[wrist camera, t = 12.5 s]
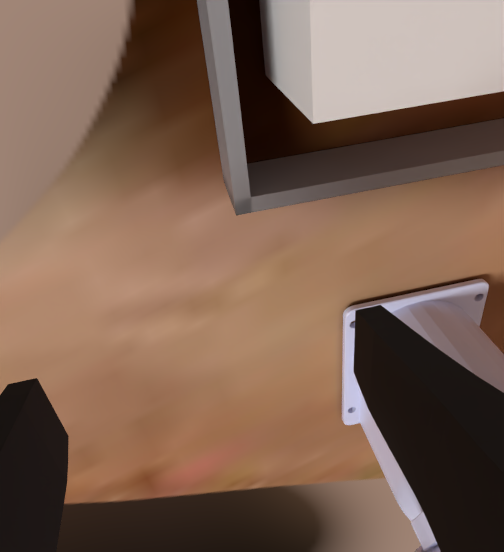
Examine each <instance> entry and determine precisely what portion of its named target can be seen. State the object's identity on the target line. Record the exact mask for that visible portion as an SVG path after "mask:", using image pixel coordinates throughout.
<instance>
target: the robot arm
mask: <svg viewBox="0 0 504 552" xmlns="http://www.w3.org/2000/svg"><path fill="white" fill-rule="evenodd" d="M488 289H489V284H488V283H487V282H486V281H485V280H484V279H476V280H471V281H466V282H462V283H457V284H452V285H447V286H443V287H438V288H433V289H429V290H424V291H419V292H414V293H410V294H405V295H400V296H396V297H391V298H386V299H381V300H377V301H372V302H367V303H363V304H358V305H353V306H350V307H348V308H347V309H346V310H345V311H344V313H343V367H342V420H343V422H344V424H346V425H353V424H358V423H361V426H362V428H363V430H364V432H365V434H366V436H367V438H368V441H369V443H370V445H371V447H372V449H373V451H374V453H375V456H376V458H377V460H378V462H379V464H380V466H381V468H382V471H383V473H384V475H385V477H386V479H387V481H388V483H389V485H390V488H391V490H392V492H393V494H394V496H395V498H396V501H397V502H398V504H399V506H400V508H401V509H402V511H403V512H404V514H405V515H406V516H407V517H408V518H409V519H410V520H411V524H412V527H413V529H414V531H415V533H416V535H417V537H418V539H419V541H420V544H421V546H420V547H419V548H417V549H416V551H415V552H504V354H503V353H502V352H501V351H500V350H499V348H498V347H497V346H496V345H495V344H494V343H493V342H492V341H491V339H490V338H489V337H488V336H487V335H486V334H485V333H484V332H483V331H482V329H481V328H480V323H481V319H482V314H483V310H484V306H485V302H486V298H487V293H488ZM476 295H477V296H476ZM352 321H355V322H354V323H351V322H352ZM67 472H68V435H67V433H66V431H65V429H64V427H63V425H62V423H61V422H60V420H59V418H58V416H57V414H56V412H55V411H54V409H53V407H52V405H51V403H50V401H49V400H48V398H47V396H46V394H45V392H44V390H43V388H42V387H41V385H40V383H39V381H38V379H37V378H36V379H31V380H26V381H22V382H17V383H12V384H8V385H7V387H6V388H5V389H4V391H3V392H2V394H1V395H0V552H56V549H57V543H58V537H59V530H60V525H61V518H62V512H63V505H64V499H65V492H66V485H67Z"/></svg>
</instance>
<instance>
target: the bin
mask: <svg viewBox="0 0 504 552" xmlns="http://www.w3.org/2000/svg"><path fill="white" fill-rule="evenodd" d="M197 4H198V11H199V18H200V24H201V31H202V38H203V44H204V51H205V58H206V64H207V71H208V78H209V84H210V91H211V98H212V104H213V111H214V118H215V124H216V131H217V138H218V145H219V151H220V158H221V165H222V171H223V178H224V183H225V186H226V189H227V191H228V194H229V197H230V199H231V202H232V205H233V208H234V210H235V213H236V215H241V214H246V213H251V212H257V211H262V210H267V209H272V208H278V207H283V206H288V205H294V204H299V203H304V202H310V201H315V200H320V199H326V198H331V197H336V196H342V195H347V194H352V193H358V192H363V191H368V190H374V189H379V188H384V187H390V186H395V185H400V184H406V183H411V182H416V181H421V180H427V179H432V178H437V177H443V176H448V175H453V174H459V173H464V172H469V171H475V170H480V169H485V168H491V167H496V166H501V165H504V118H502V119H497V120H491V121H486V122H480V123H474V124H469V125H463V126H457V127H452V128H446V129H440V130H435V131H429V132H424V133H418V134H412V135H407V136H401V137H395V138H390V139H384V140H378V141H373V142H367V143H362V144H356V145H350V146H345V147H339V148H333V149H328V150H322V151H317V152H311V153H305V154H300V155H294V156H288V157H283V158H277V159H271V160H266V161H260V162H255V163H249V164H247V161H246V152H245V143H244V135H243V126H242V118H241V109H240V101H239V92H238V83H237V75H236V66H235V58H234V49H233V40H232V32H231V23H230V15H229V6H228V0H197Z"/></svg>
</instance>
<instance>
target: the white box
mask: <svg viewBox="0 0 504 552" xmlns="http://www.w3.org/2000/svg"><path fill="white" fill-rule="evenodd" d="M259 4H260V16H261V28H262V41H263V53H264V65H265V75H266V76H267V77H268V78H269V79H270V80H271V81H272V83H273V84H274V85H275V86H276V87H277V88H278V89H279V90H280V91H281V92H282V93H283V94H284V95H285V96H286V97H287V98H288V99H289V100H290V101H291V102H292V103H293V104H294V105H295V106H296V107H297V108H298V109H299V110H300V111H301V112H302V113H303V114H304V115H305V116H306V117H307V118H308V119H309V120H310V121H311V122H312V123H313V124H315V123H321V122H327V121H333V120H339V119H344V118H350V117H356V116H362V115H368V114H374V113H379V112H385V111H391V110H397V109H403V108H409V107H414V106H420V105H426V104H432V103H438V102H444V101H449V100H455V99H461V98H467V97H473V96H479V95H485V94H490V93H496V92H502V91H504V0H259Z"/></svg>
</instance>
